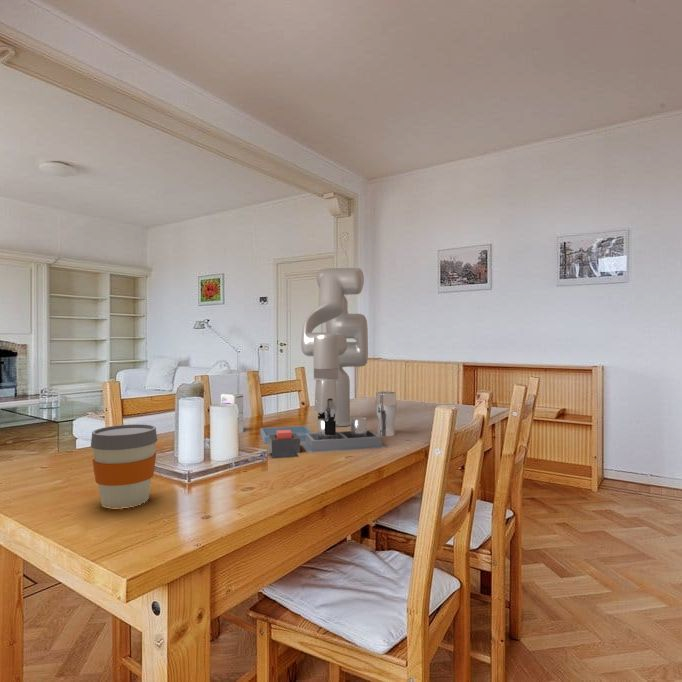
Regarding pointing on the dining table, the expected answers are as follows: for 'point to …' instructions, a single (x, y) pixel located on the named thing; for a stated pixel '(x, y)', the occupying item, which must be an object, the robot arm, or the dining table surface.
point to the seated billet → (358, 427)
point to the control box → (284, 446)
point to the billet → (323, 430)
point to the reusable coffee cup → (124, 463)
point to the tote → (294, 429)
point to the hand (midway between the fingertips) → (326, 431)
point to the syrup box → (235, 399)
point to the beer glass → (386, 412)
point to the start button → (283, 434)
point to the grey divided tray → (342, 442)
